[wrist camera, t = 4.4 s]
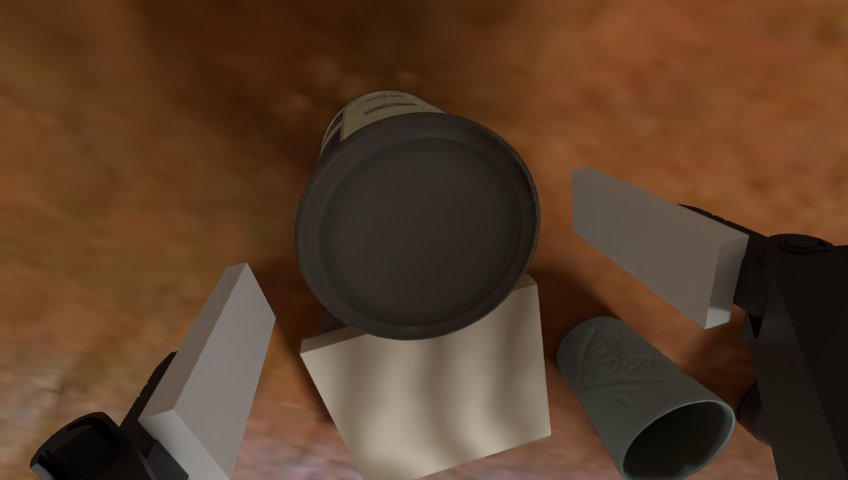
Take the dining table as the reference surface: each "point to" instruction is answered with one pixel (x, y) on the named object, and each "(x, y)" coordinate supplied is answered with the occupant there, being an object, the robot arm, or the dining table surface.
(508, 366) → the stand
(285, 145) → the dining table surface
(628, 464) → the grey green cup
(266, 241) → the dining table surface
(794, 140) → the dining table surface
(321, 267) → the coffee can
